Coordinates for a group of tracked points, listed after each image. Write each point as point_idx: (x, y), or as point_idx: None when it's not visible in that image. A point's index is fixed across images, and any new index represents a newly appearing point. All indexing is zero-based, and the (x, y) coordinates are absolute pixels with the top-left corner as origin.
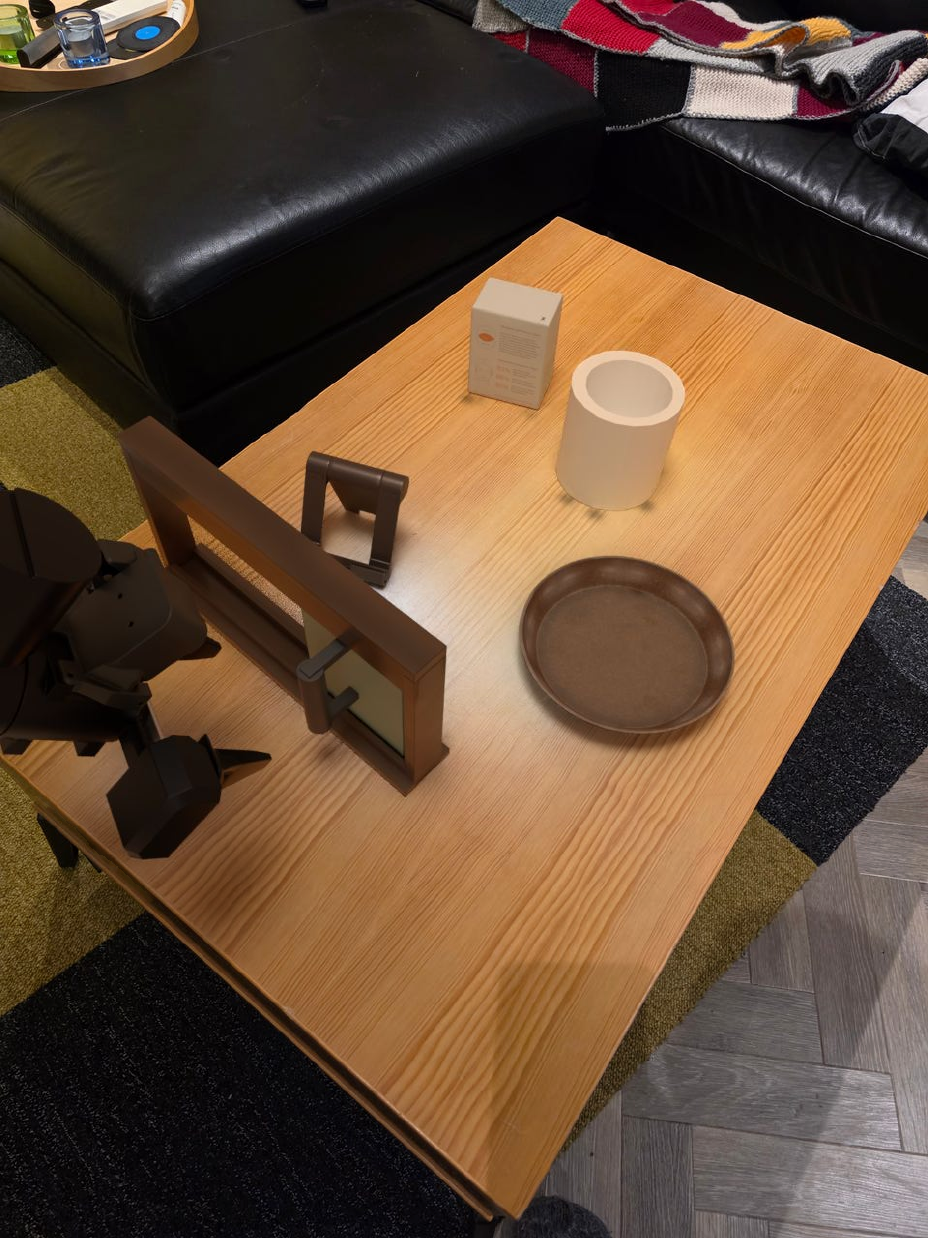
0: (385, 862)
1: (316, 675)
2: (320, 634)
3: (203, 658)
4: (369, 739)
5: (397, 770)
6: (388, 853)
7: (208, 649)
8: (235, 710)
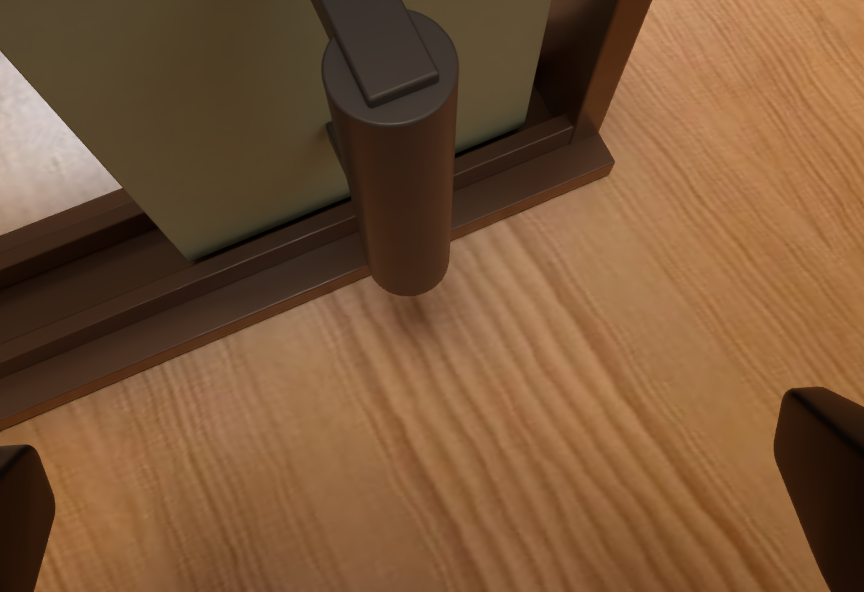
0: (762, 277)
1: (433, 48)
2: (150, 57)
3: (38, 566)
4: None
5: (549, 156)
6: (741, 262)
7: (8, 520)
8: (166, 513)
